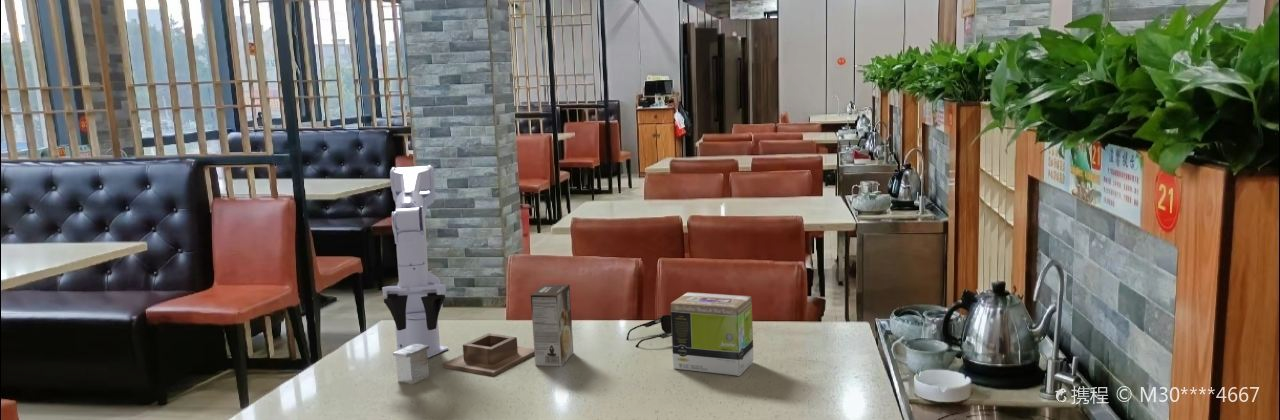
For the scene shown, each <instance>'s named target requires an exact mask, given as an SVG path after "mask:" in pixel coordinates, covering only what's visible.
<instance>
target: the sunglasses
mask: <svg viewBox="0 0 1280 420" xmlns="http://www.w3.org/2000/svg"><path fill="white" fill-rule="evenodd" d="M658 324H660V326H661V329H662V332H664V333H662V334H661V333H660V334H657V335H656V336H655V335H654V336H651V337H648V338H643V339H640V340H639V341H638V342H637V343H636V345H635V346H634V347H636V348H639V345H640V344H641V343H642V342H644V341H648V340H653V339H656V338H660V339H665V338H669V337H672V326H671V314H663V315H662V316H661V317H658V318H656V319H654V320H651V321H648V322H645V323H642V324H639V325H636V326H634V327H632V328H631V329H629V331H628V333H627V334H626V335H627V336H626V341H628V340H629V339H630V338H629V336H630V333H631V332H632V331H633V330H635V329H638V328H641V327H644V328H649V327H653V326H655V325H658Z"/></svg>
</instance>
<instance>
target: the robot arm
mask: <svg viewBox="0 0 1280 420" xmlns="http://www.w3.org/2000/svg"><path fill="white" fill-rule="evenodd" d="M434 172H435V170H434V167H433V166H432V165H431V164H428V165H418V166H402V167H395V166H392V167H391V169H390V171H389V179H390V180H389V181H390V189H391V192H392V198H393V201H394V203H395V210H394V211H392V212H391V226H392V232H393V236H394V245H395V244H396V247H395V248H396V258H397V259H396V260H397V274H398V282H397V285H389V286H388V285H387V286H383V287H381V290H382V296H383V297H386V298H384V299H383V303H384V304H385V305H386V307H387V308H388V310H389V312H390V314H391V315H392V318H393V321H394V323H395V335H396V347H397V351H398V350H400V349H403V348H405V347H407V346H410V345H412V344H415V343H416V344H422V345H429V349H427V359H429V358H431V357H433V356H436V355H438V354H440V353H442V352H445V351H448V350H449V347H448V346H447V345H446V346H445V345H441V343H440V341H441V340H440V329H439V314H440V313H441V311H442V310H444V309H443V303H444V301H445V299H446V295H445V294H447V291H446V290H447V287H446V286H447V285H446V284H444V283H443V284H441V280H440V278H439V277H438V276H436V275H435V274H432V273H431V272H430V271H429V268H428V266H429V265H428V251H427V250H428V248H427V247H428V246H427V227H426V226H427V225H426V215H427V209H428V207H429V206H431V205H432V204H434V203H435V198H436V193H435V191H436V190H435V189H436V185H435V183H436V182H435V173H434Z"/></svg>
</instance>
